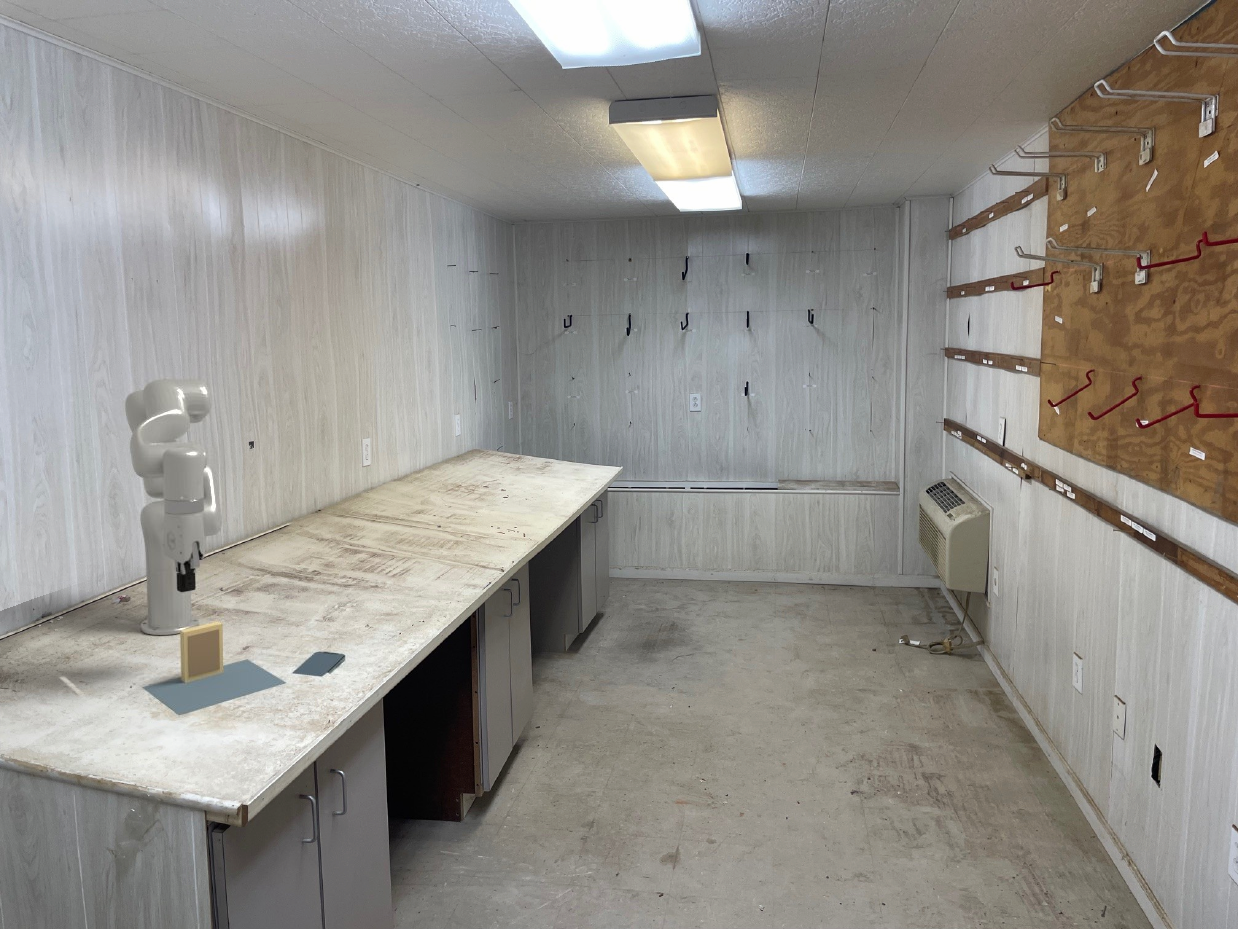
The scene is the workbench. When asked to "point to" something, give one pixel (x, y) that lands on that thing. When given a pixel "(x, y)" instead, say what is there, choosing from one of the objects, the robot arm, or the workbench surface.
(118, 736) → the workbench surface
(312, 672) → the smartphone
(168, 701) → the rubber mat
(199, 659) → the beige rectangular block
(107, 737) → the workbench surface
